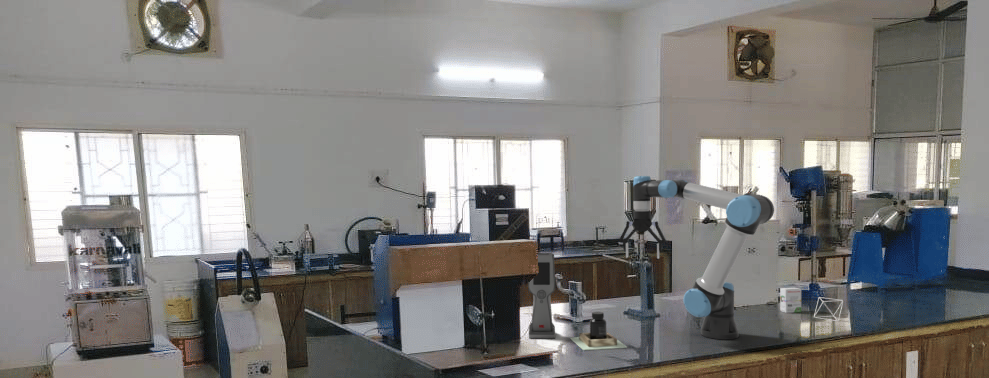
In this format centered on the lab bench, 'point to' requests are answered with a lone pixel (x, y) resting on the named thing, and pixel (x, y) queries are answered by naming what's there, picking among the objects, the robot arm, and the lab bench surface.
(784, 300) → the ink box
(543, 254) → the thermal camera
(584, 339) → the wooden square frame
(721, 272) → the robot arm
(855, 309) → the lab bench surface
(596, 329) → the supplement bottle
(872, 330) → the lab bench surface
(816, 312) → the geometric polyhedron
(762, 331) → the lab bench surface
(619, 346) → the mat
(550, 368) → the lab bench surface
